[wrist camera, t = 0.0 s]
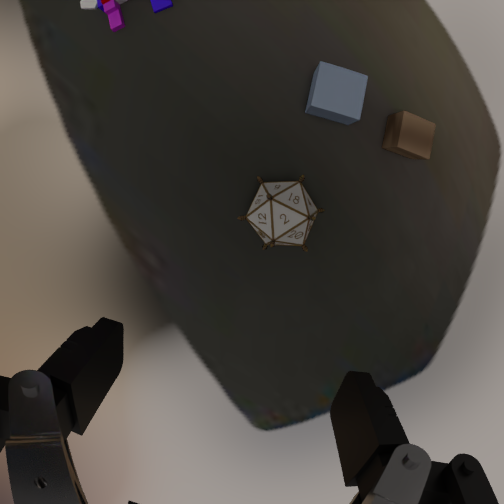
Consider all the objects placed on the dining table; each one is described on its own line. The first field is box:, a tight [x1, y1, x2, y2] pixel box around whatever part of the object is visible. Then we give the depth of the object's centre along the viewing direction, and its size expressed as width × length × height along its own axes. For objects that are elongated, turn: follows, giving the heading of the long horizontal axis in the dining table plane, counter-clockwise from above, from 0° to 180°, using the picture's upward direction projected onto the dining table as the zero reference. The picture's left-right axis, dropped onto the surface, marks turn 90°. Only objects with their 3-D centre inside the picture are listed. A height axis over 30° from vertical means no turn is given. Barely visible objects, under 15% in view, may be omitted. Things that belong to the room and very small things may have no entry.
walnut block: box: [382, 111, 436, 159], centre depth 32 cm, size 4×4×5 cm
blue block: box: [305, 61, 368, 125], centre depth 31 cm, size 6×6×5 cm
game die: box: [237, 174, 324, 252], centre depth 34 cm, size 9×8×10 cm
